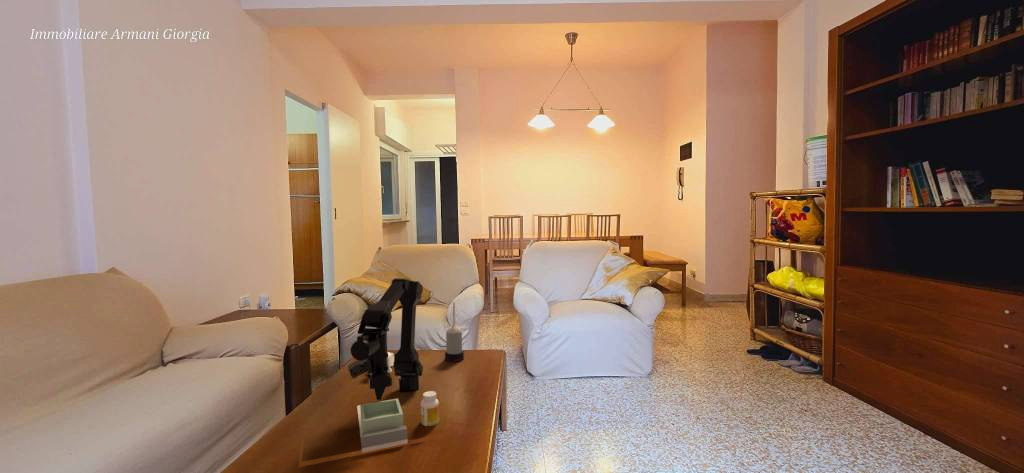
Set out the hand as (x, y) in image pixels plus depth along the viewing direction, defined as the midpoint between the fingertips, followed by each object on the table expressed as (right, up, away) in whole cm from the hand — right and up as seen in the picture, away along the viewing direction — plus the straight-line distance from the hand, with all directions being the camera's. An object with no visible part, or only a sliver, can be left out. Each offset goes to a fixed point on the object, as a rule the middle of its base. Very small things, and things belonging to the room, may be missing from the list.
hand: (378, 399), depth 134 cm
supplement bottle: (+16, -7, -2) cm, 18 cm away
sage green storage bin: (+3, -6, -6) cm, 9 cm away
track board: (+1, -7, -1) cm, 7 cm away
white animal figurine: (-12, -5, +43) cm, 45 cm away
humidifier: (+16, -4, +56) cm, 58 cm away
